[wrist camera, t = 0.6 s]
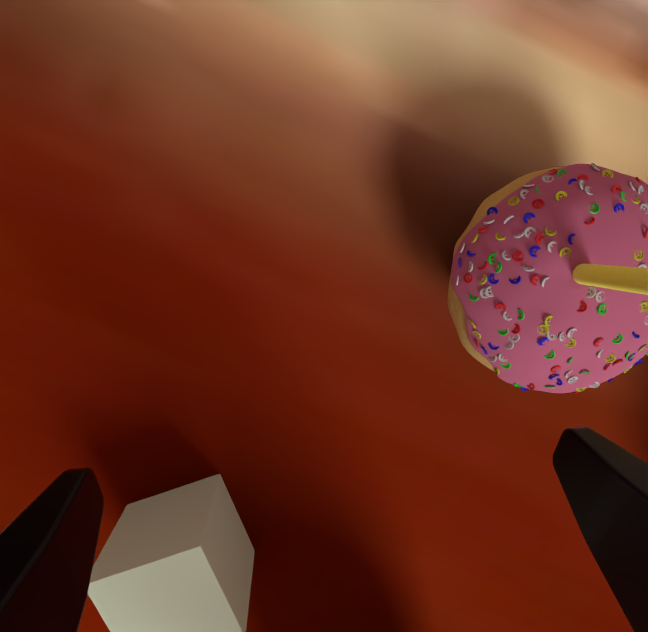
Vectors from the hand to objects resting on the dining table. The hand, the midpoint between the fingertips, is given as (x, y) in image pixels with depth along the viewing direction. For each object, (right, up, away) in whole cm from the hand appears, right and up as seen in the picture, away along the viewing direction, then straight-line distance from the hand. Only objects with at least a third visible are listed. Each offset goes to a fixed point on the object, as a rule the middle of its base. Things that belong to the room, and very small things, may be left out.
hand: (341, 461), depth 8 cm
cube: (-7, -8, +15) cm, 18 cm away
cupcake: (+8, +5, +13) cm, 16 cm away
